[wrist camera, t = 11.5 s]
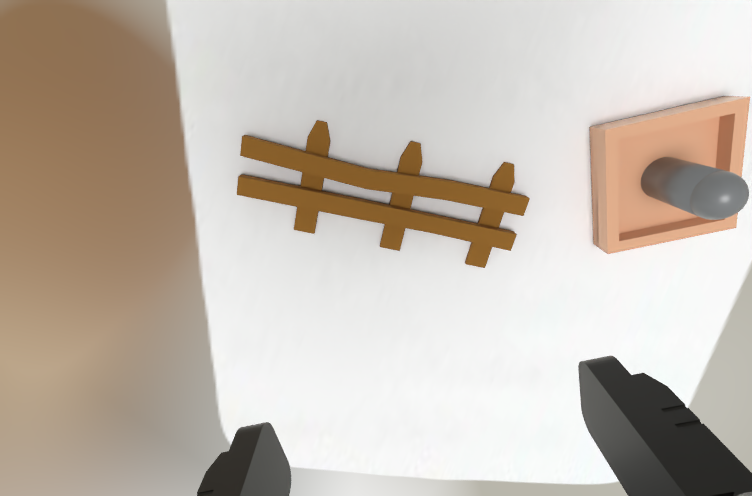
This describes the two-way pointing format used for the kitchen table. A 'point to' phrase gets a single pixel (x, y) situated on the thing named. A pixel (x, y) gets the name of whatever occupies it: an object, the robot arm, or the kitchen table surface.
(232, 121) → the kitchen table surface
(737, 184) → the plug
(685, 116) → the dish
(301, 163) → the decorative fence
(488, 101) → the kitchen table surface
